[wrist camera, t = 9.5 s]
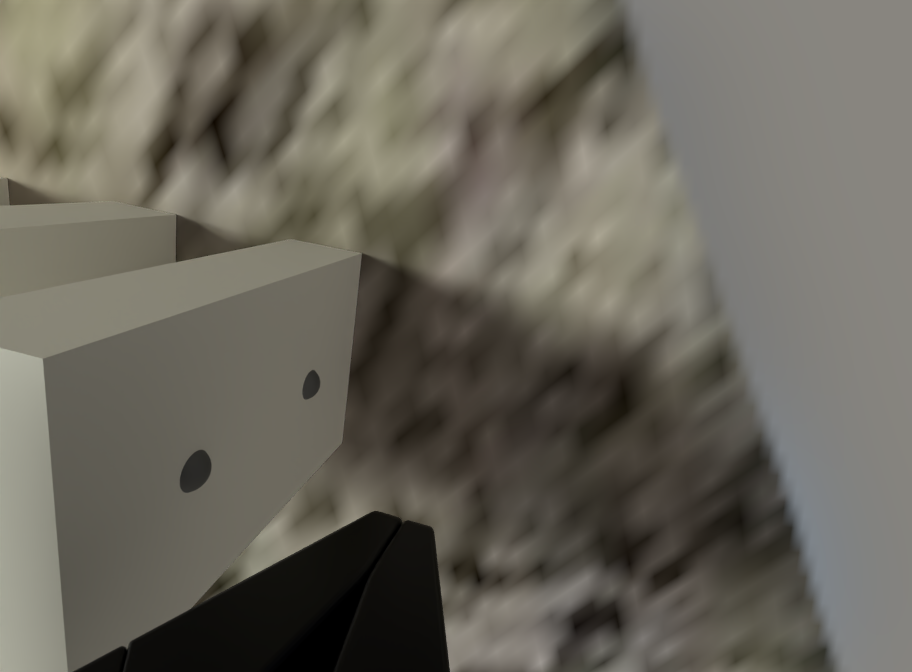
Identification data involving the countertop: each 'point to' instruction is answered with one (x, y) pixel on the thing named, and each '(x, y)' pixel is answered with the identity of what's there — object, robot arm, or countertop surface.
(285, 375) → the domino
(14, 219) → the domino
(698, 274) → the countertop surface
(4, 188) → the domino
